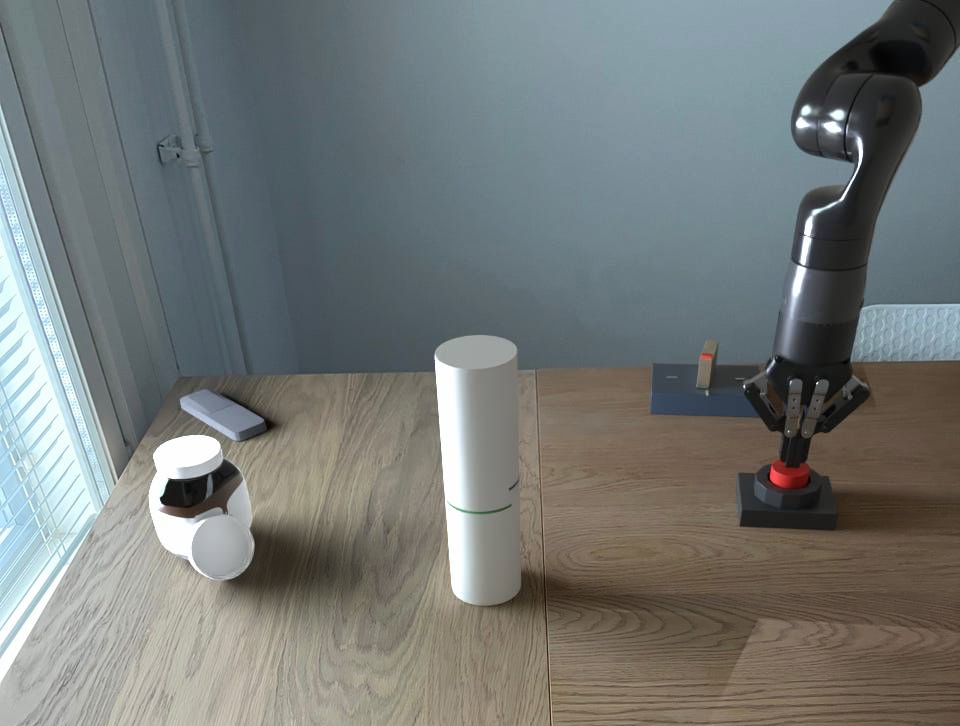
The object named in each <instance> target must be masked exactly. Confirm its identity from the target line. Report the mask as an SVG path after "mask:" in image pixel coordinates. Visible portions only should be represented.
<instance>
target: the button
mask: <svg viewBox="0 0 960 726" xmlns="http://www.w3.org/2000/svg"><path fill="white" fill-rule="evenodd" d="M772 463H773V464H772ZM772 463H771V464H772V467H771V473H770V482H771V483H772V484H773V485H774V486H777V487H781V488H784V489H799V488H803V487H805V486H806V485H807V483H808V478H809V473H810V468H811V466H810V465H809V464H808V463H807V462H805V463H800V467H799V468H785V464H784V462H781V460H780V458H779V459H775V460H774V461H773V462H772Z"/></svg>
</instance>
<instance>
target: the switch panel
mask: <svg viewBox="0 0 960 726" xmlns="http://www.w3.org/2000/svg"><path fill="white" fill-rule="evenodd" d="M651 365H652V366H651V378H650V379H651V380H650V399H649V401H650V402H649V403H650V404H649V405H650V406H649V414H650V415H669V416H670V415H671V416H674V415H675V416H676V415H677V416H703V417H704V416H707V417H708V416H709V417H737V418H738V417H739V418H760V416H759V415H758V413H757V412H756V411H755V409H754V408H753V406H752V405H751V403H750V402H749V401H748V399H747V398H746V396H745V395H744V390H743V380H744V378H746V377H749V376H750V377H755V376H756V375H758V374H759V373H761V372H760V366H759V365H742V364H741V365H739V364H737V365H736V364H716V370H715V373H714V376H713V378H712V381H711V384H710V387H709V389H706V388H697V379H698V369H699V363H698V364H694V363H659V362H657V363H656V362H655V363H652V364H651Z"/></svg>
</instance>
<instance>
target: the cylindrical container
mask: <svg viewBox="0 0 960 726" xmlns="http://www.w3.org/2000/svg"><path fill="white" fill-rule="evenodd" d="M434 360H435V361H434V363H435V376H436V378H435V379H436V390H437V403H438V416H439V417H438V418H439V419H438V420H439V430H440V431H439V432H440V443H441V444H440V445H441V457H442V471H443V485H444V499H445V512H446V526H447V527H446V528H447V541H448V554H449V569H450V581H451V589H452V593H453V594H454V595H455V596H456V598H457V599H459V600H461V601H462V602H464V603H466V604H469V605H473V606H481V607H482V606H483V607H488V606H489V607H490V606H496V605H499V604H503V603H507V602H508V601H510V600H512V599H513V598H514V597H516V596H517V595H518V593H520V590H521V587H522V551H521V550H522V549H521V547H522V545H521V542H522V541H521V494H520V493H521V492H520V490H521V489H520V488H521V487H520V437H519V436H520V434H519V433H520V432H519V431H520V430H519V427H520V425H519V423H520V422H519V376H518V375H519V373H518V369H519V368H518V348H517V345H516V344H515V343H513V342H512V341H510V340H509V339H506V338H504V337H500V336H496V335H486V334H474V335H473V334H472V335H465V336H459V337H455V338H452V339H449V340H447V341H445V342H443V343H441V344H440V345H438V346H437V347H436V349H435V351H434Z"/></svg>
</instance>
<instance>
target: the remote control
mask: <svg viewBox="0 0 960 726" xmlns="http://www.w3.org/2000/svg"><path fill="white" fill-rule="evenodd" d="M179 402H180V408H181V409H182V410H183V411H185V412H186V413H188V414H190V415H191V416H193V417H195V418H196V419H198V420H199V421H201V422H203V423H205V424H206V425H207V426H209V427H211V428H212V429H214V430H216V431H218V432H220V433H221V434H223V435H224V436H226V437H228V438H229V439H231V440H232V441H235V442H242V441H245V440H248V439H250V438H252V437H255V436H257V435H260V434H263V433H264V432H266V431H267V429H268V427H267V425H266V421H265V419H264V418H263V417H261V416H259V415H258V414H256V413H254V412H252V411H251V410H249V409H247V408H245V407H244V406H242V405H240V404H239V403H236V402H235V401H233V400H232V399H229V397H226V396H224V395H222V394H221V393H219V392H217V391H215V390H213V389H212V388H203V389H200V390H198V391H195V392H192V393H190V394H187V395H185V396H182V397H180V399H179Z"/></svg>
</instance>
